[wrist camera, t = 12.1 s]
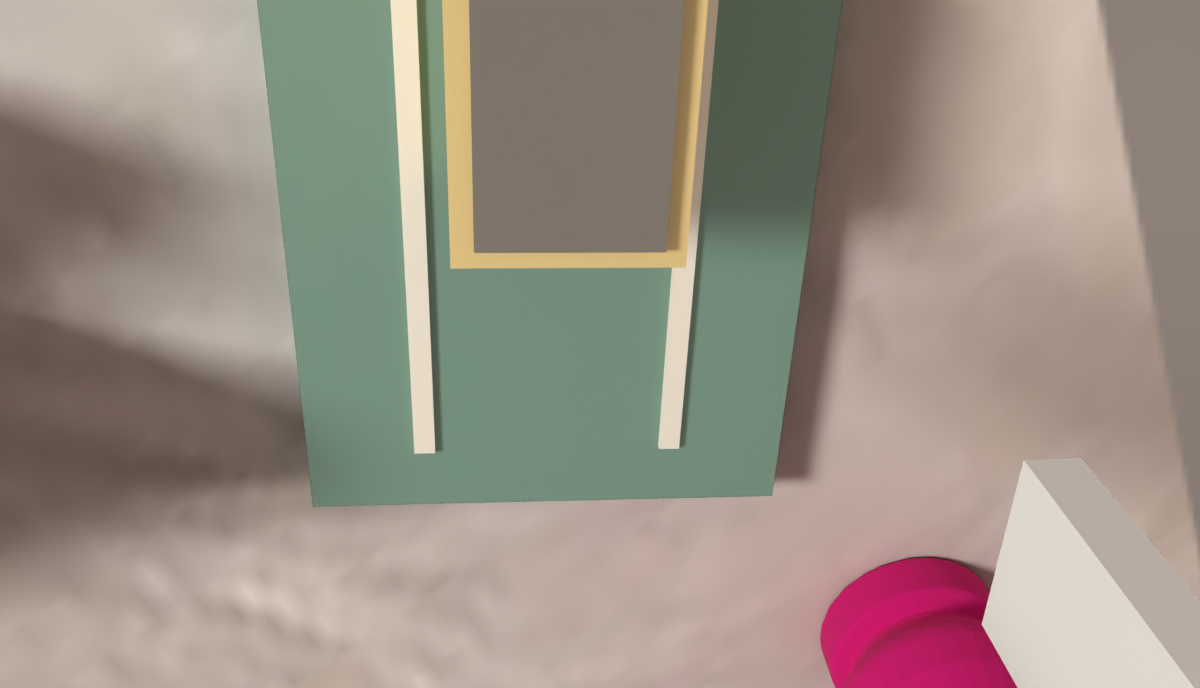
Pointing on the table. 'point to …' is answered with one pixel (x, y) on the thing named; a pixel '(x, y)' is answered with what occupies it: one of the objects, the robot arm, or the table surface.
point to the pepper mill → (912, 630)
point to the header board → (536, 278)
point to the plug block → (571, 131)
